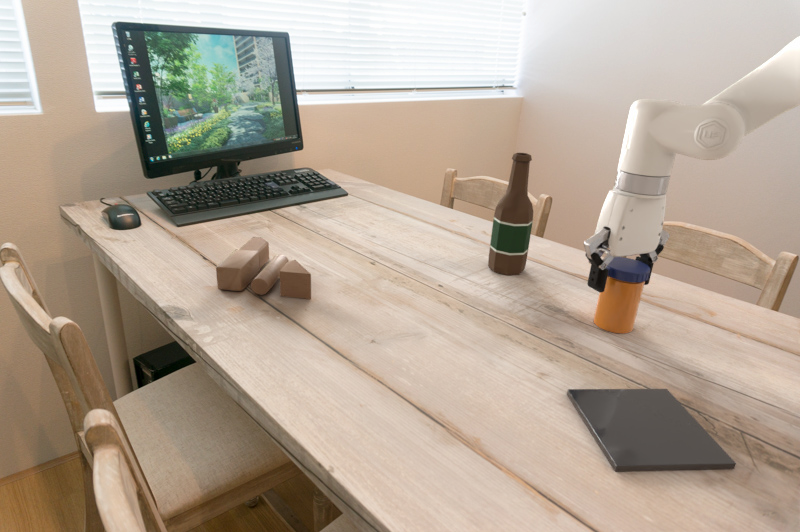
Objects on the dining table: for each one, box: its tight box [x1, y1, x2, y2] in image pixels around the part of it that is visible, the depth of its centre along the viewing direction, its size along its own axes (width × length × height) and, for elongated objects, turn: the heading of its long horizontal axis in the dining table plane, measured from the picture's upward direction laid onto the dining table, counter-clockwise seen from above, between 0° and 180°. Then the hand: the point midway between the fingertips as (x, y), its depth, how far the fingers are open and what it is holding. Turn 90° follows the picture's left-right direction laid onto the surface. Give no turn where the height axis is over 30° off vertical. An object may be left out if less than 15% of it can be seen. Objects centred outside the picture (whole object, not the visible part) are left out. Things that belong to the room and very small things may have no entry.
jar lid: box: [606, 256, 650, 282], centre depth 86 cm, size 7×7×2 cm
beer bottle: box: [487, 152, 534, 276], centre depth 106 cm, size 8×8×24 cm
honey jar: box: [593, 276, 645, 334], centre depth 88 cm, size 6×6×10 cm
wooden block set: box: [215, 236, 312, 300], centre depth 99 cm, size 17×6×18 cm
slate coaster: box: [566, 388, 737, 472], centre depth 65 cm, size 14×14×1 cm
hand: (617, 285), depth 87 cm, fingers open, 9 cm apart
